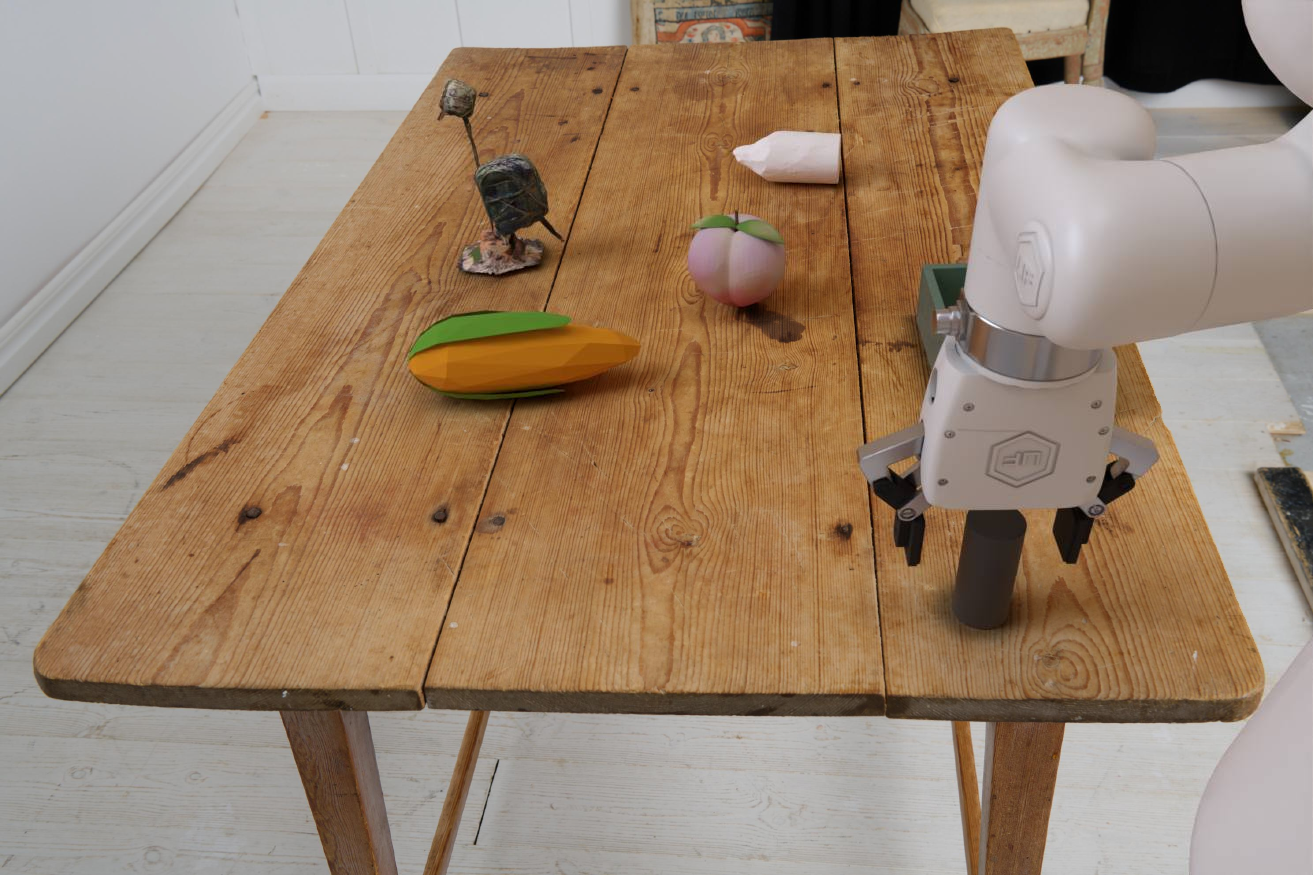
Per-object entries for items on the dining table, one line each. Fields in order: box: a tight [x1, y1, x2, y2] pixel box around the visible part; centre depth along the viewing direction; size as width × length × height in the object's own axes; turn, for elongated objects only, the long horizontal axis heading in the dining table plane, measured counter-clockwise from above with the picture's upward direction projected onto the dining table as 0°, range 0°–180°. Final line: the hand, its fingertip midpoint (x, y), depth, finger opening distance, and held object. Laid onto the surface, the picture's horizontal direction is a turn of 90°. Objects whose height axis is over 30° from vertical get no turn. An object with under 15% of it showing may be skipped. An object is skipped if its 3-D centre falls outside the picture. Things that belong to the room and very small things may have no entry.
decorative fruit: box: [686, 209, 787, 308], centre depth 99 cm, size 9×8×10 cm
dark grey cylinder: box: [951, 509, 1028, 630], centre depth 68 cm, size 4×4×8 cm
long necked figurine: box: [436, 77, 566, 276], centre depth 105 cm, size 8×11×20 cm
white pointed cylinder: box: [732, 130, 842, 185], centre depth 120 cm, size 6×12×6 cm, turn 79°
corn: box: [407, 309, 642, 401], centre depth 91 cm, size 7×8×20 cm
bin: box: [915, 262, 968, 373], centre depth 90 cm, size 16×12×6 cm
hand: (986, 549), depth 68 cm, fingers open, 9 cm apart
